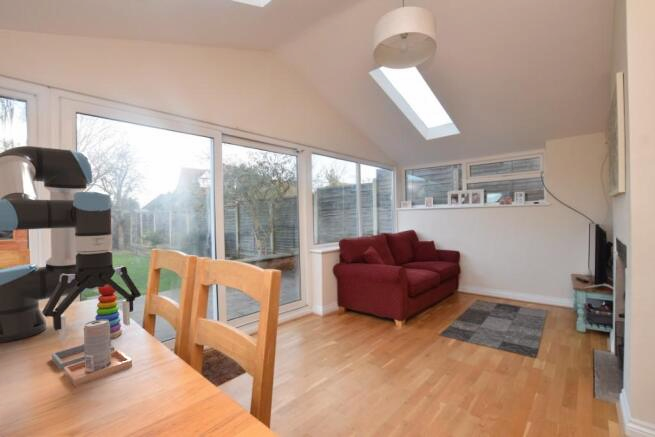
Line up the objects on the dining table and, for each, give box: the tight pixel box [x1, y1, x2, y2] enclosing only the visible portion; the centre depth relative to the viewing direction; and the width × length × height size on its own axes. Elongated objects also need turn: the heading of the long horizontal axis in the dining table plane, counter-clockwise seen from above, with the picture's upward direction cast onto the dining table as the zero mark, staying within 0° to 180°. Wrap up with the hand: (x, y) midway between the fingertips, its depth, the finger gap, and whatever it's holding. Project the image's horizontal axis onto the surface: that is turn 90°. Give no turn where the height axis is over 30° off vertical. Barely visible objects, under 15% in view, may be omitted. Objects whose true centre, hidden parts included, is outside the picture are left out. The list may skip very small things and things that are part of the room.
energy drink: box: [83, 319, 112, 373], centre depth 78 cm, size 5×5×12 cm
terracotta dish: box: [63, 349, 133, 388], centre depth 78 cm, size 10×12×2 cm
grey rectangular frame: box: [51, 343, 115, 371], centre depth 86 cm, size 10×12×2 cm
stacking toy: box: [94, 284, 123, 340], centre depth 100 cm, size 8×8×19 cm
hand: (96, 332), depth 78 cm, fingers open, 13 cm apart
